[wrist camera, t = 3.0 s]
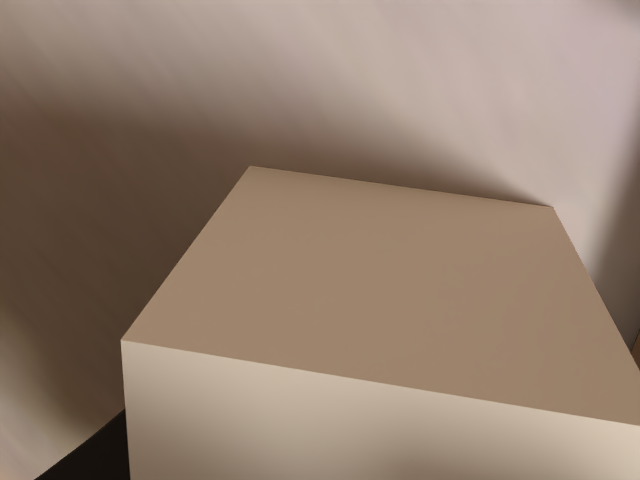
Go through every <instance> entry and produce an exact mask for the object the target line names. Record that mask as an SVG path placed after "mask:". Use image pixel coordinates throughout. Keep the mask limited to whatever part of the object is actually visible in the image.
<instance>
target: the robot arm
mask: <svg viewBox="0 0 640 480" xmlns="http://www.w3.org/2000/svg"><path fill="white" fill-rule="evenodd" d="M34 480H131V479H130V465H129V451H128V437H127V423H126V409H124V410H123V411H122V412H120V413H119V414H118V415H117V416H116V417H114V418H113V419H112V420H111V421H110V422H108V423H107V424H106V425H105V426H104V427H102V428H101V429H100V430H99V431H98V432H96V433H95V434H94V435H93V436H91V437H90V438H89V439H88V440H86V441H85V442H84V443H83V444H81V445H80V446H79V447H77V448H76V449H75V450H73V451H72V452H71V453H69V454H68V455H67V456H65V457H64V458H63V459H61V460H60V461H59V462H57V463H56V464H55V465H53V466H52V467H51V468H50V469H48V470H47V471H46V472H44V473H43V474H41V475H40V476H39V477H37V478H36V479H34Z"/></svg>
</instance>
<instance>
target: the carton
mask: <svg viewBox="0 0 640 480" xmlns="http://www.w3.org/2000/svg"><path fill="white" fill-rule="evenodd" d="M121 352H122V366H123V381H124V395H125V409H126V423H127V437H128V451H129V465H130V479H131V480H640V371H639V369H638V367H637V365H636V363H635V361H634V359H633V357H632V355H631V354H630V352H629V350H628V348H627V346H626V344H625V342H624V340H623V338H622V337H621V335H620V333H619V331H618V329H617V327H616V325H615V323H614V321H613V320H612V318H611V316H610V314H609V312H608V310H607V308H606V306H605V304H604V303H603V301H602V299H601V297H600V295H599V293H598V291H597V289H596V287H595V286H594V284H593V282H592V280H591V278H590V276H589V274H588V272H587V270H586V269H585V267H584V265H583V263H582V261H581V259H580V257H579V255H578V253H577V252H576V250H575V248H574V246H573V244H572V242H571V240H570V238H569V236H568V235H567V233H566V231H565V229H564V227H563V225H562V223H561V221H560V219H559V218H558V216H557V214H556V212H555V210H554V208H553V207H547V206H540V205H533V204H525V203H518V202H511V201H504V200H496V199H489V198H482V197H475V196H468V195H460V194H453V193H446V192H439V191H431V190H424V189H417V188H410V187H402V186H395V185H388V184H381V183H373V182H366V181H359V180H352V179H344V178H337V177H330V176H323V175H316V174H308V173H301V172H294V171H287V170H279V169H272V168H265V167H258V166H249V167H248V169H247V170H246V171H245V173H244V174H243V175H242V177H241V178H240V179H239V181H238V182H237V183H236V185H235V186H234V188H233V189H232V190H231V192H230V193H229V194H228V196H227V197H226V198H225V200H224V201H223V202H222V204H221V205H220V206H219V208H218V209H217V210H216V212H215V213H214V215H213V216H212V217H211V219H210V220H209V221H208V223H207V224H206V225H205V227H204V228H203V229H202V231H201V232H200V233H199V235H198V236H197V237H196V239H195V240H194V242H193V243H192V244H191V246H190V247H189V248H188V250H187V251H186V252H185V254H184V255H183V256H182V258H181V259H180V260H179V262H178V263H177V265H176V266H175V267H174V269H173V270H172V271H171V273H170V274H169V275H168V277H167V278H166V279H165V281H164V282H163V283H162V285H161V286H160V287H159V289H158V290H157V292H156V293H155V294H154V296H153V297H152V298H151V300H150V301H149V302H148V304H147V305H146V306H145V308H144V309H143V310H142V312H141V313H140V314H139V316H138V317H137V319H136V320H135V321H134V323H133V324H132V325H131V327H130V328H129V329H128V331H127V332H126V333H125V335H124V336H123V337H122V339H121Z"/></svg>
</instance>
